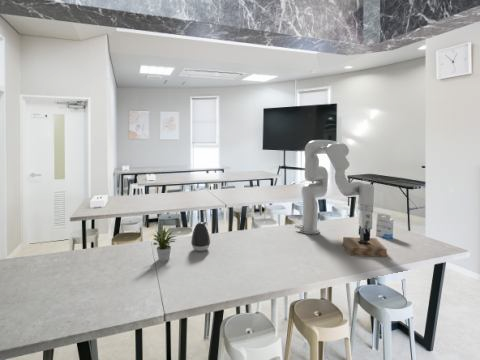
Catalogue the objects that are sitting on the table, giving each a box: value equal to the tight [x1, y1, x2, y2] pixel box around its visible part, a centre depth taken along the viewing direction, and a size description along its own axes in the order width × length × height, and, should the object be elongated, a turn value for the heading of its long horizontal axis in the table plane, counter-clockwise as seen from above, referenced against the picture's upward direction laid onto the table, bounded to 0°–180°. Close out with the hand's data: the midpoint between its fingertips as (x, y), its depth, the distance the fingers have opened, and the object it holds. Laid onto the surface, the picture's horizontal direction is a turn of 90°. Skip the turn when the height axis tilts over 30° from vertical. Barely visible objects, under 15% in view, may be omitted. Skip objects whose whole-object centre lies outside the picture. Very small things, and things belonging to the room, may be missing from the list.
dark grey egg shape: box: [190, 221, 211, 252], centre depth 169 cm, size 10×10×15 cm
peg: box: [359, 228, 368, 245], centre depth 169 cm, size 4×4×12 cm
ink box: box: [375, 212, 394, 240], centre depth 192 cm, size 8×5×15 cm, turn 39°
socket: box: [342, 236, 388, 258], centre depth 169 cm, size 18×18×4 cm
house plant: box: [152, 227, 177, 262], centre depth 154 cm, size 14×14×16 cm
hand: (363, 237), depth 169 cm, fingers open, 9 cm apart
